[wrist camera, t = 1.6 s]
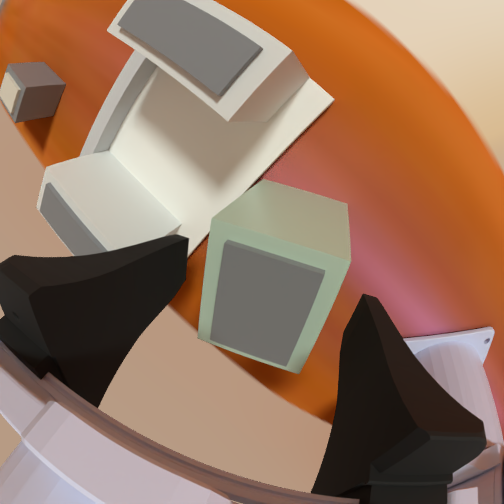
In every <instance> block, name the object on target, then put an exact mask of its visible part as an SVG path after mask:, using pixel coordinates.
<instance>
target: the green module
mask: <svg viewBox="0 0 504 504" xmlns="http://www.w3.org/2000/svg"><path fill="white" fill-rule="evenodd" d="M350 263H351V249H350V232H349V218H348V206H347V204H346V203H343V202H340V201H337V200H334V199H330V198H327V197H324V196H321V195H318V194H314V193H311V192H308V191H304V190H301V189H297V188H294V187H290V186H287V185H283V184H280V183H276V182H272V181H269V180H265V179H263V180H261V181H260V182H259V183H257V184H256V185H255V186H253V187H252V188H250V189H249V190H248V191H246V192H245V193H244V194H242V195H241V196H240V197H238V198H237V199H236V200H234V201H233V202H232V203H231V204H229V205H228V206H227V207H225V208H224V209H223V210H221V211H220V212H219V213H217V214H216V215H215V216H214V217H212V218H211V226H210V233H209V240H208V248H207V256H206V264H205V272H204V280H203V289H202V298H201V308H200V317H199V328H198V339H201V340H203V341H206V342H208V343H211V344H213V345H216V346H218V347H221V348H224V349H226V350H229V351H232V352H234V353H237V354H240V355H243V356H245V357H248V358H251V359H254V360H257V361H260V362H263V363H266V364H269V365H272V366H275V367H278V368H281V369H284V370H287V371H290V372H294V373H297V374H299V373H300V371H301V369H302V367H303V365H304V364H305V362H306V360H307V358H308V356H309V354H310V352H311V350H312V348H313V346H314V344H315V342H316V340H317V338H318V335H319V333H320V331H321V329H322V327H323V325H324V323H325V321H326V318H327V316H328V314H329V312H330V310H331V307H332V305H333V303H334V301H335V298H336V296H337V294H338V292H339V289H340V287H341V285H342V282H343V280H344V277H345V275H346V273H347V270H348V268H349V265H350Z"/></svg>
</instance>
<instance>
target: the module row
mask: <svg viewBox="0 0 504 504" xmlns="http://www.w3.org/2000/svg"><path fill="white" fill-rule="evenodd" d="M107 31H108V32H109V33H111V34H113V35H114V36H116V37H117V38H119V39H120V40H122V41H123V42H125V43H126V44H128V45H129V46H131V47H132V48H133V49H135V51H134V52H133V54H132V55H131V57H130V58H129V60H128V61H127V63H126V65H125V66H124V68H123V70H122V71H121V73H120V75H119V76H118V78H117V80H116V82H115V83H114V85H113V87H112V89H111V90H110V92H109V94H108V96H107V98H106V100H105V102H104V104H103V106H102V108H101V110H100V112H99V114H98V116H97V118H96V120H95V122H94V124H93V126H92V128H91V131H90V133H89V135H88V137H87V140H86V142H85V144H84V147H83V149H82V151H81V154H80V156H79V157H78V158H74V159H71V160H67V161H64V162H61V163H57V164H54V165H51V166H48V167H46V170H45V174H44V177H43V181H42V185H41V189H40V194H39V198H38V203H37V209H38V210H39V212H40V213H41V214H42V216H43V217H44V218H45V220H46V221H47V222H48V224H49V225H50V226H51V228H52V229H53V230H54V232H55V233H56V234H57V236H58V237H59V238H60V239H61V241H62V242H63V243H64V244H65V246H66V247H67V248H68V249H69V250H70V252H71V253H72V254H73V255H74V256H82V255H90V254H96V253H102V252H107V251H112V250H116V249H120V248H124V247H128V246H132V245H136V244H139V243H143V242H146V241H150V240H153V239H157V238H161V237H164V236H168V235H174V234H178V235H181V236H184V237H187V238H189V245H188V257H189V256H190V255H191V253H192V252H193V251H194V250H195V249H196V248H197V246H198V245H199V244H200V243H201V242H202V241H203V240H204V238H205V237H206V236H207V235H208V234H209V233H210V226H211V218H212V217H214V216H215V215H216V214H217V213H219V212H220V211H221V210H223V209H224V208H225V207H227V206H228V205H229V204H231V203H232V202H233V201H234V200H236V199H237V198H238V197H240V196H241V195H242V194H244V193H245V192H246V191H247V190H248V189H249V188H250V187H251V186H252V185H253V184H254V183H255V182H256V181H257V180H258V179H259V178H260V176H261V175H262V174H263V173H264V172H265V171H266V170H267V169H268V168H269V167H270V166H271V165H272V164H273V163H274V162H275V161H276V160H277V158H278V157H279V156H280V155H281V154H282V153H283V152H284V151H285V150H286V149H287V148H288V147H289V146H290V145H291V144H292V143H293V142H294V141H295V140H296V139H297V138H298V137H299V136H300V135H301V134H302V133H303V132H304V131H305V130H306V129H307V128H308V127H309V126H310V125H311V124H312V123H313V122H314V121H315V120H316V119H317V118H318V117H319V116H320V115H321V114H322V113H323V112H324V111H325V110H326V109H327V108H328V107H329V106H330V105H331V104H332V103H333V102H334V99H333V98H332V97H331V96H330V95H329V94H328V93H327V92H326V91H325V90H323V89H322V88H321V87H320V86H319V85H318V84H317V83H315V82H314V81H313V80H312V79H311V78H310V77H309V76H308V74H307V73H306V71H305V69H304V68H303V66H302V65H301V63H300V61H299V60H298V58H297V57H296V55H295V54H294V52H293V51H292V50H291V49H289V48H288V47H287V46H285V45H284V44H283V43H281V42H280V41H278V40H277V39H275V38H274V37H273V36H271V35H270V34H268V33H267V32H265V31H264V30H262V29H261V28H259V27H258V26H256V25H254V24H253V23H251V22H250V21H248V20H246V19H245V18H243V17H241V16H240V15H238V14H236V13H235V12H233V11H231V10H229V9H228V8H226V7H224V6H222V5H220V4H219V3H217V2H215V1H213V0H127V2H126V3H125V4H124V6H123V7H122V9H121V10H120V11H119V13H118V14H117V16H116V17H115V19H114V20H113V22H112V23H111V25H110V26H109V28H108V29H107ZM188 257H187V258H188Z"/></svg>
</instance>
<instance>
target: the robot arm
mask: <svg viewBox="0 0 504 504" xmlns="http://www.w3.org/2000/svg"><path fill="white" fill-rule="evenodd" d="M188 245H189V238H187V237H184V236H181V235H178V234H174V235H168V236H164V237H161V238H157V239H153V240H150V241H146V242H143V243H139V244H136V245H132V246H128V247H124V248H120V249H116V250H112V251H107V252H102V253H96V254H90V255H82V256H71V257H30V256H19V255H14V256H11V257H9V258H8V259H6V260H5V261H3V262H2V263H0V304H1V307H2V310H3V312H4V314H5V316H3V317H2V318H1V319H0V413H1V415H2V416H3V417H4V418H5V419H6V420H7V422H8V423H9V424H10V425H11V426H12V427H13V428H14V429H15V430H16V431H17V433H18V434H19V435H20V436H21V439H22V441H21V442H20V443H19V444H18V446H17V447H16V448H15V450H14V451H13V452H12V453H11V455H10V456H9V457H8V458H7V460H6V461H5V462H4V463H3V465H2V466H1V467H0V504H238V503H235V502H233V501H236V502H240V503H243V504H504V442H503V437H502V432H501V427H500V423H499V419H498V415H497V411H496V407H495V403H494V400H493V396H492V393H491V389H490V386H489V383H488V380H487V377H486V374H485V371H484V368H483V363H484V360H485V358H486V355H487V353H488V350H489V347H490V345H491V342H492V339H493V336H494V330H493V328H492V327H485V328H480V329H474V330H468V331H461V332H454V333H447V334H440V335H432V336H423V337H413V338H402V336H401V335H400V333H399V332H398V330H397V328H396V327H395V325H394V324H393V322H392V320H391V319H390V317H389V315H388V314H387V312H386V311H385V309H384V307H383V306H382V304H381V303H380V301H379V300H378V299H377V298H376V297H373V296H369V295H366V294H363V295H362V297H361V299H360V301H359V303H358V305H357V307H356V309H355V311H354V313H353V315H352V317H351V319H350V321H349V322H348V324H347V326H346V328H345V330H344V333H343V338H342V344H341V350H340V362H339V381H338V396H337V405H336V411H335V416H334V421H333V425H332V429H331V433H330V437H329V441H328V445H327V448H326V452H325V455H324V458H323V461H322V464H321V467H320V470H319V473H318V475H317V478H316V481H315V483H314V486H313V488H312V491H311V493H306V492H300V491H295V490H290V489H286V488H281V487H277V486H273V485H269V484H265V483H261V482H258V481H254V480H251V479H247V478H244V477H240V476H237V475H234V474H231V473H228V472H225V471H222V470H220V469H217V468H214V467H211V466H209V465H206V464H204V463H201V462H198V461H196V460H194V459H191V458H189V457H187V456H184V455H182V454H180V453H177V452H175V451H173V450H171V449H169V448H167V447H165V446H163V445H160V444H158V443H156V442H154V441H153V440H151V439H149V438H147V437H145V436H143V435H141V434H139V433H137V432H136V431H134V430H132V429H130V428H128V427H127V426H125V425H123V424H122V423H120V422H118V421H117V420H115V419H113V418H112V417H110V416H109V415H107V414H105V413H104V412H102V411H101V410H99V409H98V407H99V405H100V402H101V400H102V398H103V396H104V394H105V392H106V390H107V388H108V386H109V384H110V383H111V381H112V379H113V377H114V375H115V374H116V372H117V370H118V368H119V367H120V365H121V364H122V362H123V360H124V359H125V357H126V355H127V354H128V352H129V351H130V349H131V348H132V346H133V345H134V343H135V342H136V341H137V339H138V338H139V336H140V335H141V334H142V333H143V331H144V330H145V329H146V328H147V327H148V326H149V324H150V323H151V322H152V321H153V320H154V319H155V318H156V317H157V316H158V314H159V313H160V312H161V311H162V310H163V309H164V308H165V306H166V305H167V304H168V303H169V302H170V301H171V300H172V299H173V298H174V296H175V295H176V293H177V292H178V290H179V289H180V287H181V286H182V284H183V283H184V281H185V280H186V269H187V257H188ZM231 500H233V501H231Z"/></svg>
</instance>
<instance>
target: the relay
mask: <svg viewBox="0 0 504 504" xmlns="http://www.w3.org/2000/svg"><path fill="white" fill-rule="evenodd" d="M65 86H66V84H65V83H64V82H63V81H62V80H61V79H60V78H59V77H58V76H57V75H56V74H55V73H54V72H53V71H52V70H51V69H50V68H49V67H48V66H47V65H46V64H45V63H44V62H31V63H14V64H8V66H7V69H6V72H5V75H4V78H3V82H2V85H1V88H0V100H1V101H2V103H3V105H4V106H5V108H6V109H7V111H8V113H9V114H10V116H11V117H12V119H13V121H14V122H15V123H18V122H23V121H28V120H33V119H38V118H44V117H50V116H54V113H55V110H56V108H57V105H58V103H59V100H60V98H61V95H62V93H63V90H64V88H65Z"/></svg>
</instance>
